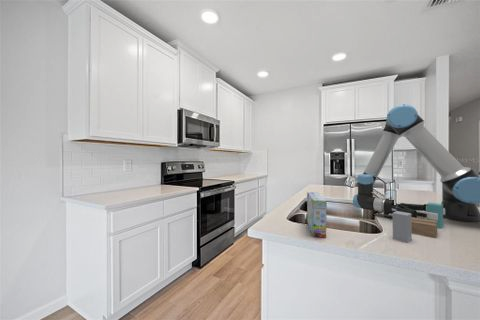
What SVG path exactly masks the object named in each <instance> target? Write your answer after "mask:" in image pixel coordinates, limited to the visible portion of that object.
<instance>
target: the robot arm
mask: <svg viewBox="0 0 480 320" xmlns="http://www.w3.org/2000/svg"><path fill="white" fill-rule="evenodd" d="M382 133H383V134H382V136H381V138H380V140H379V141H378V144H377V145H376V148H375V149H374V152H373V153H372V155H371V158H370V159H369V161H368V163H367V165H366V167H365V169H364V171H363V173H362V174H358V175H357V194H354V195H353V197H352V204H353V206H354V207H355V208H358V209H362V210H368V211H374V212H378V213H386V214H390V215H393V213H394V212H396V211H400V212H406V213H411V218H412V217H414V218H420V219H433V220H438V214H437V213H431V212H427V203H424V204H416V203H404V202H400V203H397V202H396V205H394V200H395V199H394V200H389V199H390V198H385V197H380V196H374V184H375V182H376V180H377V178H378V177H377V178H376V177H375V176H374V175H372V174H375V175H376V176H379V175H380V173H381V172H382V169H383V167H384V166H385V164H386V163H387V160H388V158H389V156H390V154H391V153H392V151H393V149H394V148H395V145H396V143H397V142H398V139H400V138H402V137H404V138H406V139H407V141H408V142H409V143H410V144H411V146H413V148H415V149H416V151H417V152H418V153H419V154H420V155H421V156H422V157H423V158H424V159H425V160H426V161H427V162H428V164H430V166H431V167H432V168H433V169H434V170H435V171H436V173H438V174H439V175H440V180H439V181H440V182H441V187H442V190H441V191H442V192H441V194H442V195H441V197H442V200H441V203H440V204H443V219H444V218H445V219H449V220H454V221H460V222H461V221H462V222H471V223H472V222H473V223H474V222H475V223H478V222H480V210H479V208H478V205H477V204H480V176H479V175H478V174H477V173H476V172H475V171H474V170H473V169H472V168H471V167H467V166H463V164H461V163H460V162H459V160H457V159H456V157H455V156H453V155H452V154H451V152H449V150H448V149H447V148H446V147H445V146H444V145H443V144H442V143H441V142H440V141H439V140H438V139H437V138H436V136H434V135H433V133H431V132H430V131H429V130H428V128H426V126H425V120H424V119H423V118H422V117H421V116H420V115H419V113H418V110H417V109H416V108H415V107H414V106H413V105H410V104H399V105H395V106H394V107H393V108H391V109H390V110H389V112H387V115H386V120H385V125H384V127H383V129H382ZM371 192H373V194H372V193H371ZM377 197H379V198H377Z"/></svg>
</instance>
